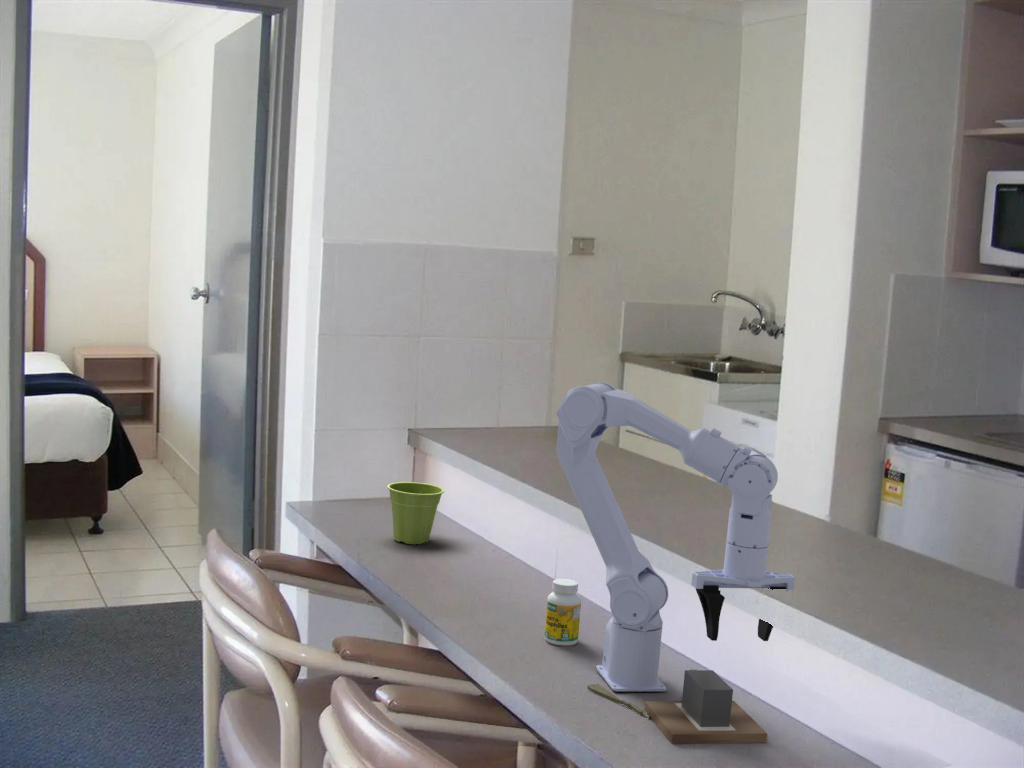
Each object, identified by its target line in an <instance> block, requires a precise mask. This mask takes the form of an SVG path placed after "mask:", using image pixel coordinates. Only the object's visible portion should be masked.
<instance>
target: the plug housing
mask: <svg viewBox="0 0 1024 768" xmlns="http://www.w3.org/2000/svg"><path fill="white" fill-rule="evenodd" d="M683 675H684V676H683V677H684V678H683V687H682V695H681V697H682V698H681V701H682V705H681V706H682V707H683V708H684V709H685V711H686V712H687V713H688V714H689V715H690V716H691V717H692V718H693V719H694V720H695V722H696V723H697V724H698V725H699V726H700V727H729V725H730V715H731V706H732V701H733V694H734V688H732V687H731V686H730V685H729V684H728V683H727V682H726V681H725V680H723V679H722V678H721V677H720V676H719V675H718V674H717V673H716V672H715V671H714V670H710V669H709V670H708V669H707V670H705V669H704V670H702V669H701V670H699V669H698V670H697V669H689V670H687V669H686V670H684V674H683Z"/></svg>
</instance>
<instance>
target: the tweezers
mask: <svg viewBox="0 0 1024 768" xmlns="http://www.w3.org/2000/svg"><path fill="white" fill-rule="evenodd" d="M587 690H589V691H590V692H592V693H593V692H594V693H593V694H596V695H598V696H601V697H602V698H605V697H606V698H605V699H607V700H609V699H610V701H612V702H614V701H615V703H616V702H617V704H619V703H620V704H624V705H625V706H627V707H630V708H629V709H631V710H632V709H633V710H634V713H636V712H637V713H636V714H637V715H639V714H640V715H639V716H643V717H644V716H645V717H644V718H646V719H647V718H649V719H650V718H651V717H650V716H649V715H648V714H647V713H646V711H645V712H644V710H642V709H640V708H639V707H638V706H637V705H635V704H633V703H631V702H629V701H628V702H627V701H626V700H624V699H621V698H619V697H617V696H616V695H615V694H613V693H612V692H610V691H609V690H608V689H606V688H605V687H604V686H602V685H601V684H599V683H593V684H588V685H587ZM620 704H619V705H620ZM624 705H623V706H624ZM625 706H624V707H625ZM627 707H626V708H627ZM633 710H632V711H633Z"/></svg>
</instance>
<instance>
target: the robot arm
mask: <svg viewBox="0 0 1024 768" xmlns="http://www.w3.org/2000/svg"><path fill="white" fill-rule="evenodd" d="M555 414H556V418H557V421H558V424H557V439H556V448H555V449H556V455H557V459H558V462H559V464H560V466H561V469H562V470H563V473H564V475H565V477H566V480H567V482H568V484H569V486H570V489H571V491H572V493H573V495H574V498H575V499H576V502H577V504H578V507H579V508H580V510H581V513H582V514H583V518H584V519H585V522H586V524H587V527H588V528H589V532H590V533H591V536H592V538H593V539H594V542H595V544H596V547H597V549H598V551H599V554H600V555H601V559H602V560H603V563H604V565H605V567H606V569H605V573H606V574H605V586H606V587H607V590H608V592H609V596H610V597H609V598H610V599H609V601H610V602H609V603H610V604H609V606H610V607H609V608H610V612H611V614H612V617H611V618H610V619H609V621H608V622H607V623H606V626H605V632H604V640H603V641H604V642H603V650H602V651H603V652H602V662H601V663H602V664H597V665H595V669H596V671H597V672H598V673H599V674H600V676H601V677H602V679H604V681H605V682H606V683H607V685H608V686H609V688H611V690H612V691H613V692H666V691H667V689H668V688H667V686H665V685H664V683H662V681H661V680H660V679H659V678H658V676H659V665H660V656H661V655H660V654H661V647H662V646H661V643H662V634H663V624H664V621H663V619H662V617H661V613H660V610H662V608H664V606H665V605H666V603H667V602H668V599H669V588H668V585H667V582H666V581H665V579H664V578H663V577H662V576H661V575H660V574H659V573H658V572H656V571H655V570H654V568H653V566H652V564H651V562H650V560H649V559H648V558H647V557H646V556H645V555H644V554H643V553H641V551H640V550H639V548H638V546H637V544H636V540H634V537H633V535H632V533H631V531H630V529H629V527H628V526H629V525H628V523H627V521H626V519H625V517H624V515H623V512H622V511H621V507H620V506H619V504H618V501H617V500H616V497H615V495H614V493H613V490H612V489H611V485H610V484H609V481H608V479H607V477H606V475H605V473H604V470H603V468H602V466H601V464H600V462H599V460H598V457H597V454H596V451H597V448H598V446H599V444H600V441H601V439H602V437H603V435H604V432H605V431H606V430H607V429H608V428H611V427H614V428H615V427H632V428H634V429H636V430H638V431H639V432H641V433H643V434H646V435H647V436H649V437H651V438H653V439H656V440H658V441H659V442H661V443H663V444H665V445H668V446H669V447H672V448H673V449H676V450H677V451H679V453H680V454H681V458H682V460H683V463H684V464H685V465H687V466H688V467H690V468H692V469H694V470H695V471H697V472H699V473H701V474H703V475H704V476H706V477H708V478H709V479H712V480H713V481H715V482H717V483H719V484H721V485H722V486H728V488H729V490H730V492H731V505H730V508H729V511H728V512H729V513H728V522H727V533H726V542H725V552H724V560H723V561H724V562H723V569H711V570H702V571H701V570H700V571H695V570H694V571H692V575H691V582H690V583H691V584H690V585H691V586H692V587H694V588H695V591H696V593H697V596H698V599H699V602H700V604H701V608H702V612H703V616H704V623H705V628H706V629H705V630H706V637H707V638H708V639H709V640H710V641H712V642H715V641H716V642H717V640H718V637H719V628H720V618H721V612H722V609H723V605H724V602H725V598H726V597H725V596H724V595H723V594H721V590H720V589H756V588H758V589H757V590H759V588H762V589H763V588H768V589H769V588H770V589H772V590H773V589H787V590H786V591H789V589H790V590H794V591H795V585H796V584H795V582H796V577H795V575H792V574H791V573H788V572H786V573H782V572H774V571H773V572H772V571H766V570H767V561H768V553H769V552H768V551H769V543H770V535H771V533H770V532H771V524H772V516H773V515H772V508H773V494H771V492H773V491H774V489H775V487H776V486H777V483H778V479H779V478H778V477H779V476H778V469H777V468H776V466H775V464H774V463H773V462H772V461H771V460H770V459H769V458H767V456H766V455H764V454H761V453H760V454H759V453H753V454H751V452H752V449H751V448H748V447H747V446H744V447H743V448H742V447H740V446H738V445H737V444H735V443H733V442H731V441H729V440H728V439H725V438H724V437H722V436H721V435H722V432H721V431H720V430H718V429H716V428H712V429H710V430H709V429H707V428H704V427H703V428H699V429H696V430H690V429H689V428H687V427H686V426H684V425H682V423H681V424H680V423H679V422H677V421H676V420H674V419H672V418H670V417H669V416H667V415H665V414H664V413H662V412H661V411H659V410H658V409H656V408H654V407H652V406H651V405H649V404H647V403H646V402H644V401H643V400H641V399H639V398H637V397H636V396H634V395H632V394H630V393H628V392H627V391H626V390H624V389H623V390H622V389H619V388H617V389H616V388H615V387H614V386H612V384H610V383H607V382H602V381H599V382H597V381H596V382H594V383H591V384H588V385H580V386H576V387H575V386H574V387H573V388H571V389H570V390H568V392H566V394H565V395H564V397H563V399H562V401H561V402H560V405H559V407H558V409H557V410H556V413H555ZM773 629H774V626H772V625H771V624H769V623H768V622H765V621H763V620H761V619H759V618H758V622H757V637H758V638H759V639H761V640H762V641H763V642H768V641H769V639H770V636H771V634H772V631H773Z"/></svg>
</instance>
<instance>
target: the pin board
mask: <svg viewBox="0 0 1024 768" xmlns="http://www.w3.org/2000/svg"><path fill="white" fill-rule="evenodd" d="M643 704H644V705H643V707H644V708H643V711H645V713H646V712H647V713H646V714H647V715H649V716H650V717H651V719H650V720H652V721H653V723H654V722H655V723H654V724H655V725H656V727H657V728H658V729H659V730H660V732H662V734H663V735H664V736H665V737H666V738H667V741H669V742H670V744H729V743H730V744H732V743H733V744H734V743H735V744H737V743H738V744H739V743H742V744H743V743H745V744H747V743H751V744H752V743H767V741H768V740H767V739H768V732H767V731H766V730H765V729H763V727H762V726H760V724H758V722H756V721H755V720H754V719H753V718H752V716H750V715H749V714H748V713H747V712H746V711H745V710H744V709H743V708H742V707H741V706H740V705H739V704H738V703H737V702H736V701H735V700H732V706H731V715H730V725H729V727H700V726H699V725H698V724H697V723H696V722H695V720H694V719H693V718H692V717H691V716H690V715H689V714H688V713H687V712H686V711H685V709H684V708H683V707H682V706H681V705H682V700H644V703H643Z"/></svg>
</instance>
